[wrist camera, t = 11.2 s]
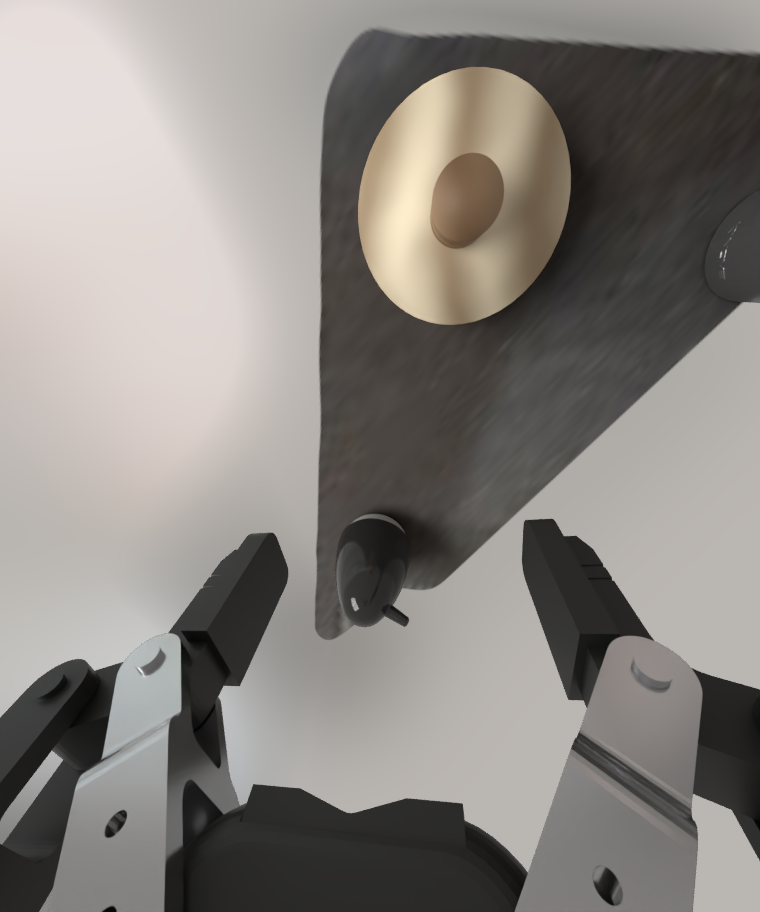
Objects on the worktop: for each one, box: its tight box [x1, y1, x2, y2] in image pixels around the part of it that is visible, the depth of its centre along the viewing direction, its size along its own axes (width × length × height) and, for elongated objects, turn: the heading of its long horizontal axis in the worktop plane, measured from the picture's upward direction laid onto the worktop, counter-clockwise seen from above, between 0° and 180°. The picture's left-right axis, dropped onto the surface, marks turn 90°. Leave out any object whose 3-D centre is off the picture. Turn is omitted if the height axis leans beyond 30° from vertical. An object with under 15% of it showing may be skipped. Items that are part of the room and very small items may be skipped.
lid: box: [358, 67, 571, 325], centre depth 24 cm, size 16×16×6 cm
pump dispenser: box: [335, 514, 411, 627], centre depth 42 cm, size 10×10×15 cm
